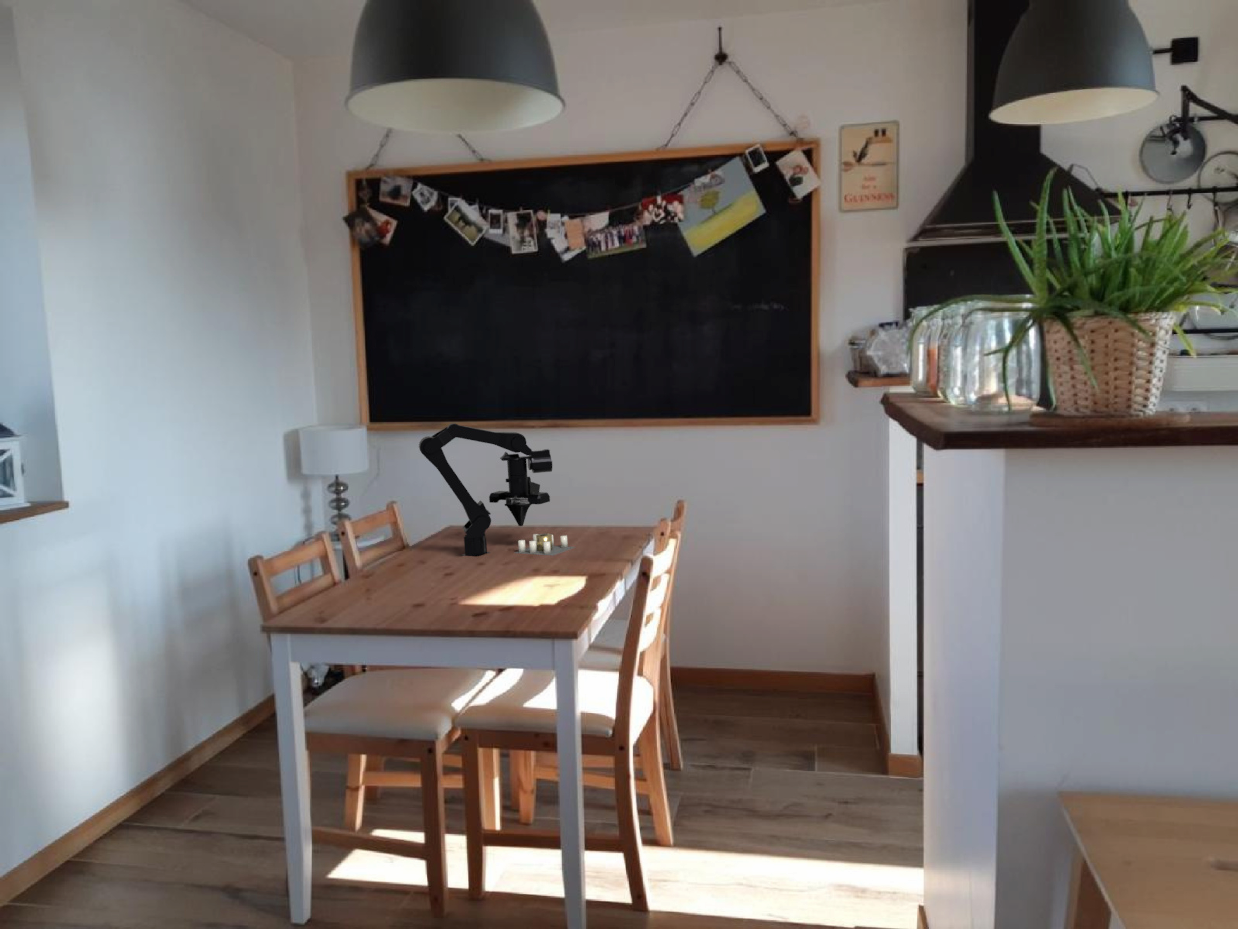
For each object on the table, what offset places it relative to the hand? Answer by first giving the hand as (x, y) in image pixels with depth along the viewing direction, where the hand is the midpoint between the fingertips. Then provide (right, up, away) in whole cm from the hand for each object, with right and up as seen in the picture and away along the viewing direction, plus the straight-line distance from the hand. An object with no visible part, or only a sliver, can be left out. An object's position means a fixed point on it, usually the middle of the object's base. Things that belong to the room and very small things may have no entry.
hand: (520, 525), depth 285 cm
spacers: (+7, -7, -3) cm, 10 cm away
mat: (+7, -7, -3) cm, 11 cm away
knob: (+7, -7, -3) cm, 11 cm away
